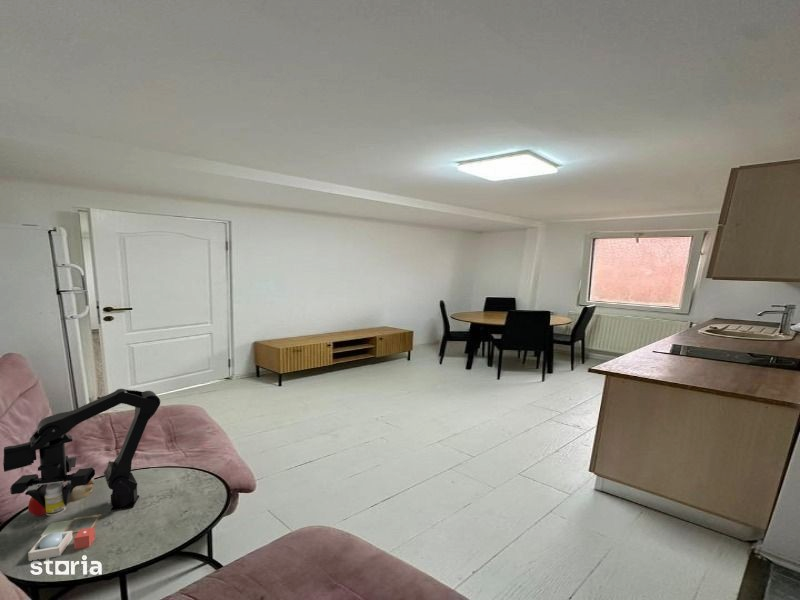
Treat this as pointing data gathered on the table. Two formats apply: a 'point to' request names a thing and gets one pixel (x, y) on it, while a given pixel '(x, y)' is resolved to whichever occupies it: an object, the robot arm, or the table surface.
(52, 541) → the dome
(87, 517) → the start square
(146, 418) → the robot arm
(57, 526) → the pad
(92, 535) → the red die
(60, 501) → the supplement bottle
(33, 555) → the tray
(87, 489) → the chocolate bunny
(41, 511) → the apple
